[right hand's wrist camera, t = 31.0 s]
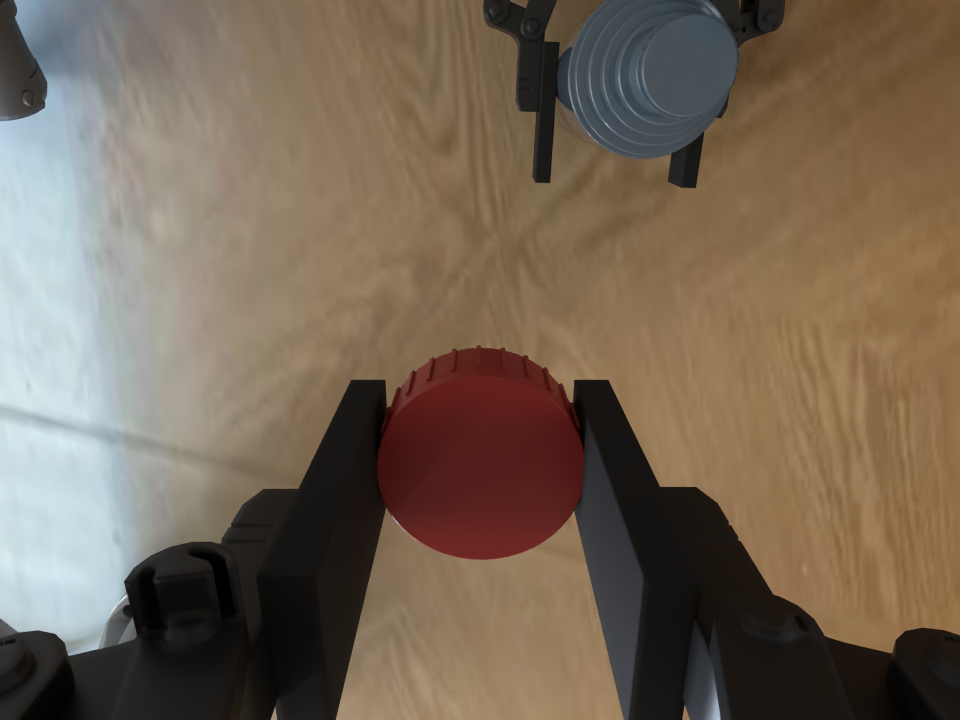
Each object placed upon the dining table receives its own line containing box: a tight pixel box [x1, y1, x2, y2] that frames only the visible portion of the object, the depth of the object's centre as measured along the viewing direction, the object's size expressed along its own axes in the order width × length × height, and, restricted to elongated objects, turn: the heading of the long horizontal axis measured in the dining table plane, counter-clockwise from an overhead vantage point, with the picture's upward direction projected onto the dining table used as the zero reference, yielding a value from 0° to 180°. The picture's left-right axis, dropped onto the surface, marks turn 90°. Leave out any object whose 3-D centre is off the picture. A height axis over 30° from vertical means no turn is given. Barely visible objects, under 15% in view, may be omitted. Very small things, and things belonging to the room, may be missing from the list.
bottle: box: [555, 0, 739, 159], centre depth 30 cm, size 7×7×19 cm
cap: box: [376, 346, 584, 560], centre depth 14 cm, size 4×4×2 cm
